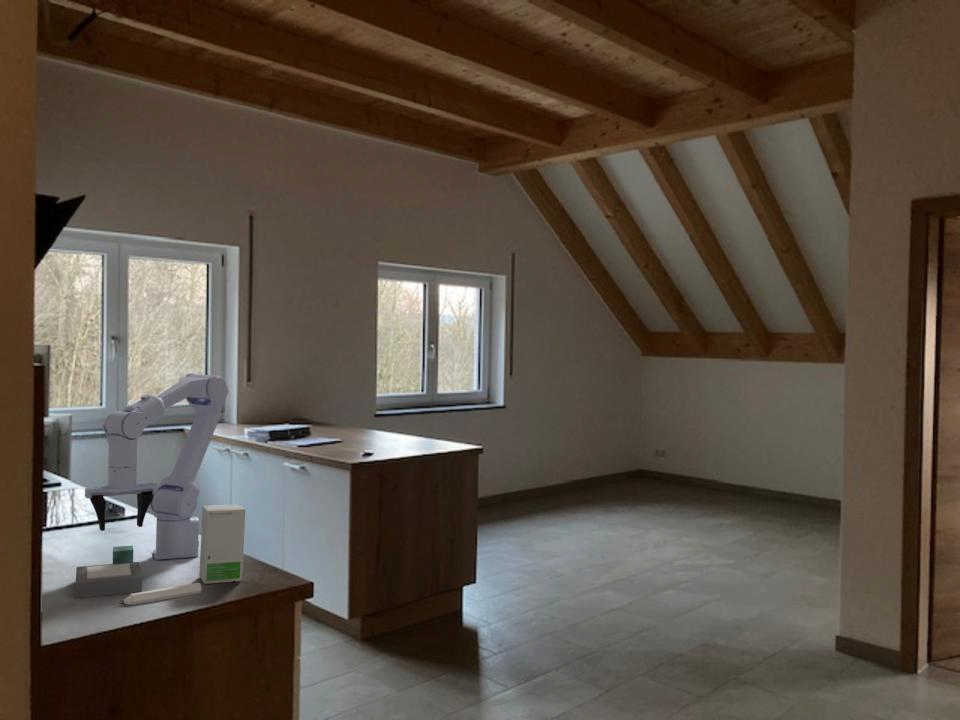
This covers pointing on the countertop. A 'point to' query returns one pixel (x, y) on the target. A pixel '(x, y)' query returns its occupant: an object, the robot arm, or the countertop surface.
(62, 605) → the countertop surface
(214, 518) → the skincare box
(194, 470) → the robot arm
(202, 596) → the countertop surface
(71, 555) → the countertop surface
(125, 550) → the teal block
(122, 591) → the charcoal plinth
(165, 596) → the marker
